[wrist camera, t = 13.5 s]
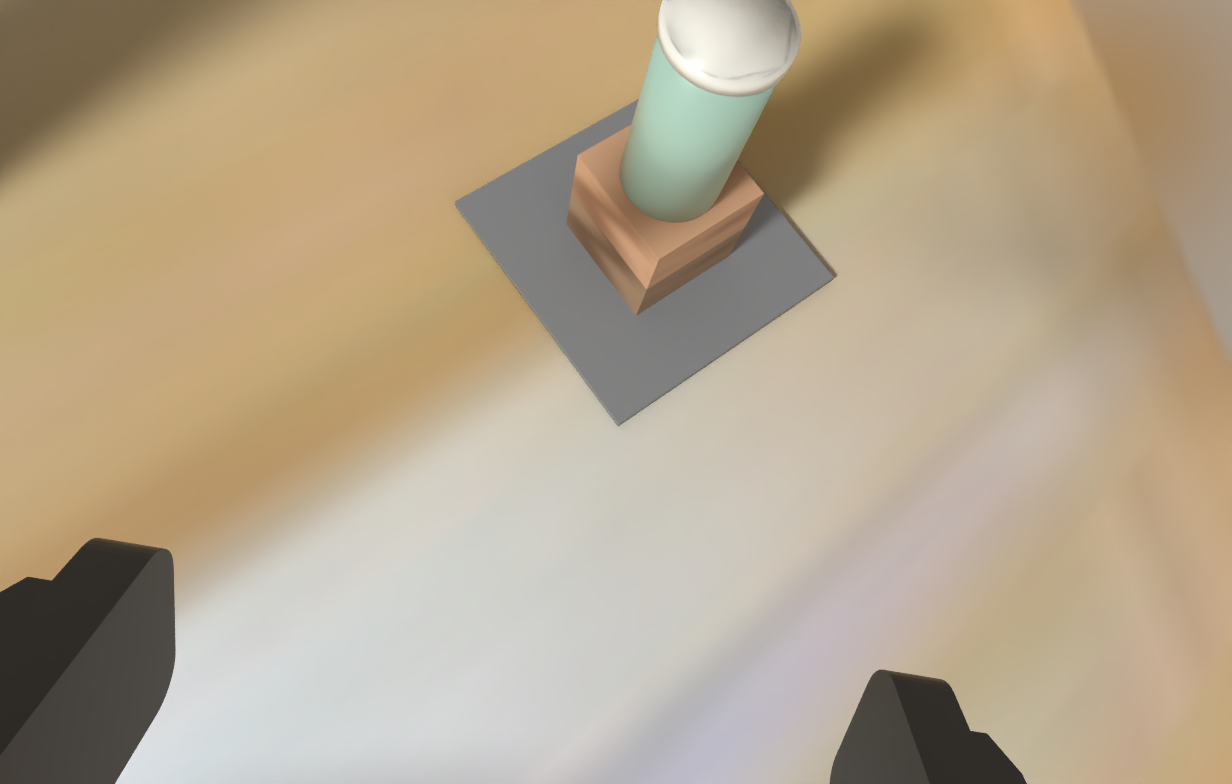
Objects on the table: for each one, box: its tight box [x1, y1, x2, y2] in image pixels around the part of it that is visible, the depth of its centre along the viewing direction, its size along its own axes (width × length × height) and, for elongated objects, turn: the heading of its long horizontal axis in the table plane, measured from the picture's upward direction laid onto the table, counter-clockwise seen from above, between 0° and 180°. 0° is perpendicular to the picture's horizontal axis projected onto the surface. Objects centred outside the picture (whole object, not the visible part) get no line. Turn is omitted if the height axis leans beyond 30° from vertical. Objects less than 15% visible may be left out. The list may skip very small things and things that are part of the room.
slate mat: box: [455, 99, 834, 426], centre depth 46 cm, size 14×14×1 cm
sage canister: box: [620, 0, 801, 223], centre depth 35 cm, size 5×5×10 cm
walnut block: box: [566, 192, 745, 316], centre depth 45 cm, size 6×6×3 cm
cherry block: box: [572, 124, 764, 289], centre depth 42 cm, size 6×6×3 cm
